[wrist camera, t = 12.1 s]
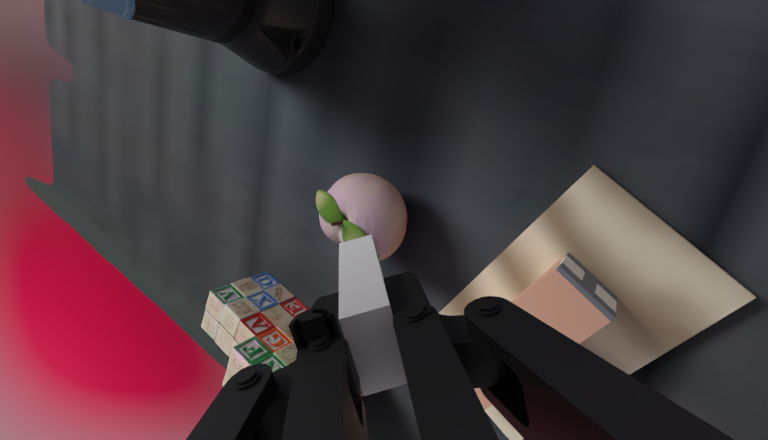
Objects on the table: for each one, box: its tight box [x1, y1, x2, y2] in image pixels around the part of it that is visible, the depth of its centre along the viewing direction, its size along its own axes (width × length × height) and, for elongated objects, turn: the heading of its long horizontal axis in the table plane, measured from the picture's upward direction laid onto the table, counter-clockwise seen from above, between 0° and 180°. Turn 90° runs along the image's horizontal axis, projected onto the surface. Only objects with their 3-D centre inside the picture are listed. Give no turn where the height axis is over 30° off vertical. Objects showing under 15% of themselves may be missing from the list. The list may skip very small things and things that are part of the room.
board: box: [439, 165, 756, 440], centre depth 35 cm, size 24×14×1 cm, turn 138°
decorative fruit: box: [316, 173, 407, 261], centre depth 39 cm, size 9×8×10 cm
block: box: [474, 252, 617, 410], centre depth 33 cm, size 5×5×14 cm
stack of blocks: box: [201, 272, 363, 397], centre depth 47 cm, size 21×6×12 cm, turn 62°
